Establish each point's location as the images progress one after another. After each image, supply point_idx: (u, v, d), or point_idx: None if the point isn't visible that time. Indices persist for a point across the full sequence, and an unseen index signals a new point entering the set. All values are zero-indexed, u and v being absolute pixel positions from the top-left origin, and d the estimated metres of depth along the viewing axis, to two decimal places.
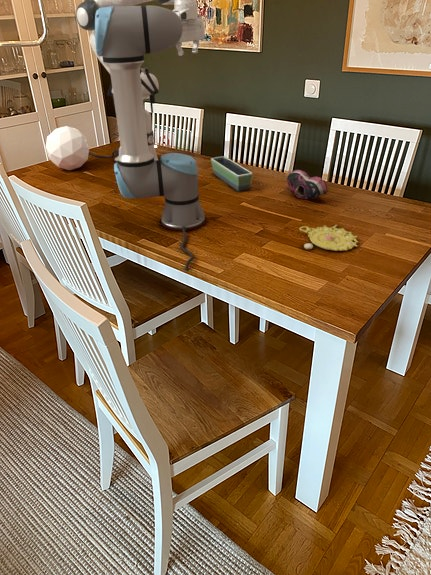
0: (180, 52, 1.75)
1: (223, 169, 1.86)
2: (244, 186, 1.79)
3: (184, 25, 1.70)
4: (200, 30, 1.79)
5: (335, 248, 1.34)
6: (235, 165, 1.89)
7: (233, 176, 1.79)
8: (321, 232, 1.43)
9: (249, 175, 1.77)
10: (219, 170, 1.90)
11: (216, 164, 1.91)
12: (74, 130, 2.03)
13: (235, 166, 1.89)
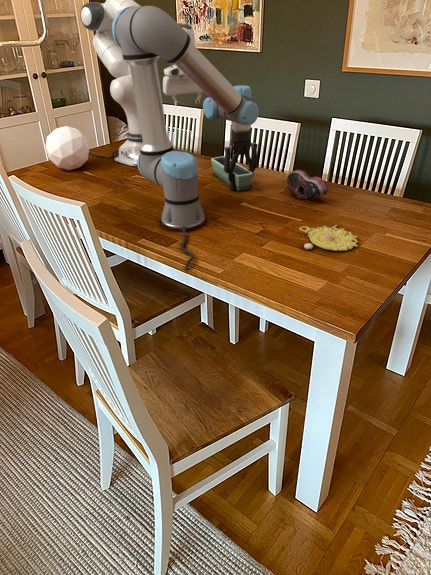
0: (175, 103, 1.88)
1: (223, 169, 1.86)
2: (244, 186, 1.79)
3: (178, 79, 1.82)
4: None
5: (335, 248, 1.34)
6: (235, 165, 1.89)
7: None
8: (321, 232, 1.43)
9: (249, 175, 1.77)
10: (219, 170, 1.91)
11: (216, 164, 1.91)
12: (74, 130, 2.03)
13: (235, 166, 1.89)
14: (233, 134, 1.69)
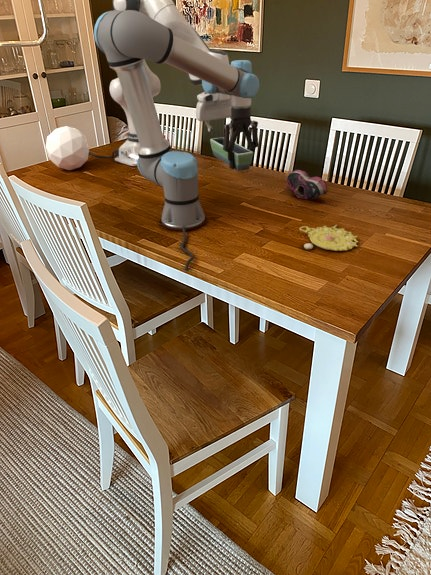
0: (208, 128, 1.85)
1: None
2: (244, 165, 1.75)
3: (212, 105, 1.79)
4: None
5: (335, 248, 1.34)
6: (235, 145, 1.84)
7: None
8: (321, 232, 1.43)
9: (249, 154, 1.72)
10: (219, 150, 1.86)
11: (215, 144, 1.87)
12: (74, 130, 2.03)
13: (235, 146, 1.84)
14: (233, 111, 1.65)
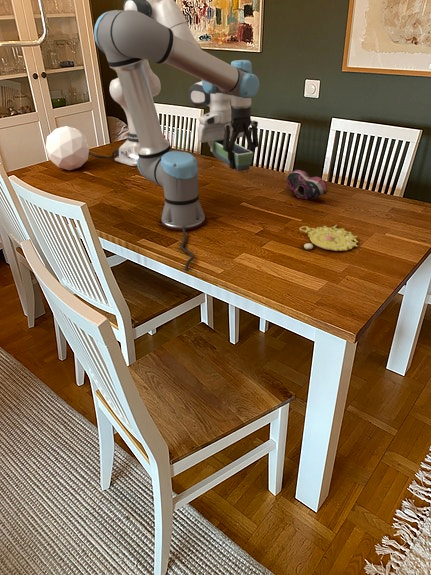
0: (211, 149, 1.89)
1: None
2: (244, 166, 1.75)
3: (214, 127, 1.83)
4: None
5: (335, 248, 1.34)
6: (235, 145, 1.84)
7: None
8: (321, 232, 1.43)
9: (249, 154, 1.72)
10: (219, 151, 1.86)
11: (216, 145, 1.87)
12: (74, 130, 2.03)
13: (235, 146, 1.84)
14: (233, 111, 1.65)
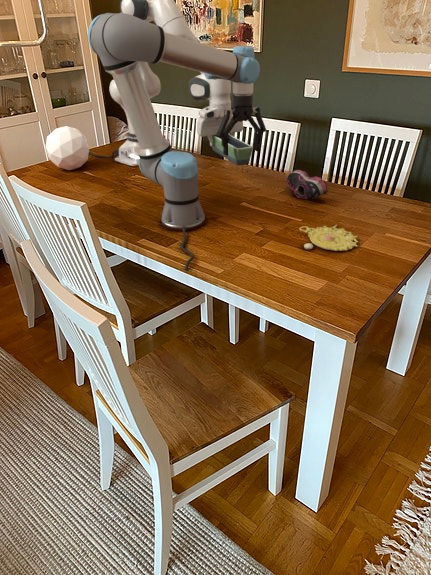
0: (210, 143, 1.88)
1: None
2: (244, 160, 1.74)
3: (213, 121, 1.82)
4: (236, 124, 1.87)
5: (335, 248, 1.34)
6: (235, 140, 1.83)
7: (232, 150, 1.73)
8: (321, 232, 1.43)
9: (249, 149, 1.71)
10: (218, 145, 1.85)
11: (215, 139, 1.86)
12: (74, 130, 2.03)
13: (235, 141, 1.83)
14: (234, 98, 1.61)
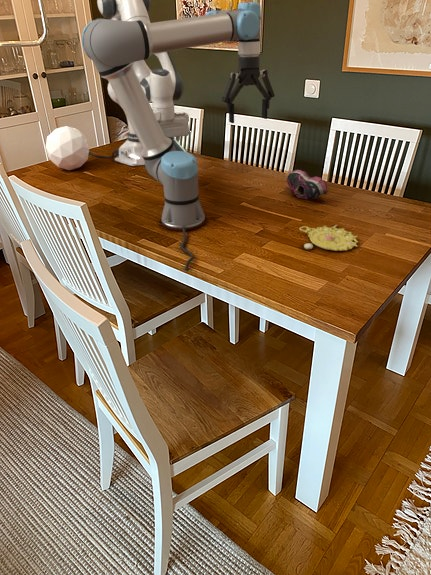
0: None
1: None
2: None
3: None
4: (181, 128, 1.83)
5: (335, 248, 1.34)
6: (176, 144, 1.79)
7: None
8: (321, 232, 1.43)
9: None
10: None
11: None
12: (74, 130, 2.03)
13: (176, 145, 1.79)
14: (240, 60, 1.51)
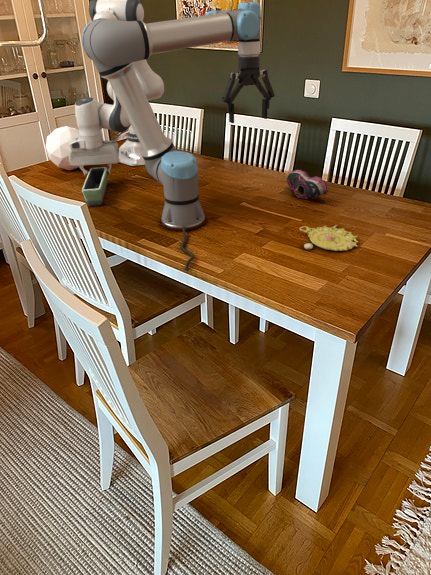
0: None
1: None
2: (93, 201, 1.70)
3: (83, 152, 1.80)
4: (110, 155, 1.81)
5: (335, 248, 1.34)
6: (102, 178, 1.79)
7: None
8: (321, 232, 1.43)
9: (96, 190, 1.67)
10: None
11: None
12: (74, 130, 2.03)
13: None
14: (240, 60, 1.51)
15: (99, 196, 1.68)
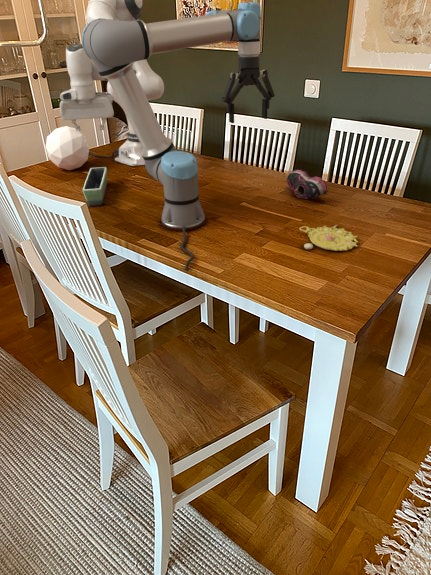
0: None
1: None
2: (94, 201, 1.70)
3: (74, 104, 1.69)
4: (103, 108, 1.71)
5: (335, 248, 1.34)
6: None
7: None
8: (321, 232, 1.43)
9: (96, 190, 1.67)
10: None
11: None
12: (74, 130, 2.03)
13: None
14: (240, 60, 1.51)
15: (100, 196, 1.68)
